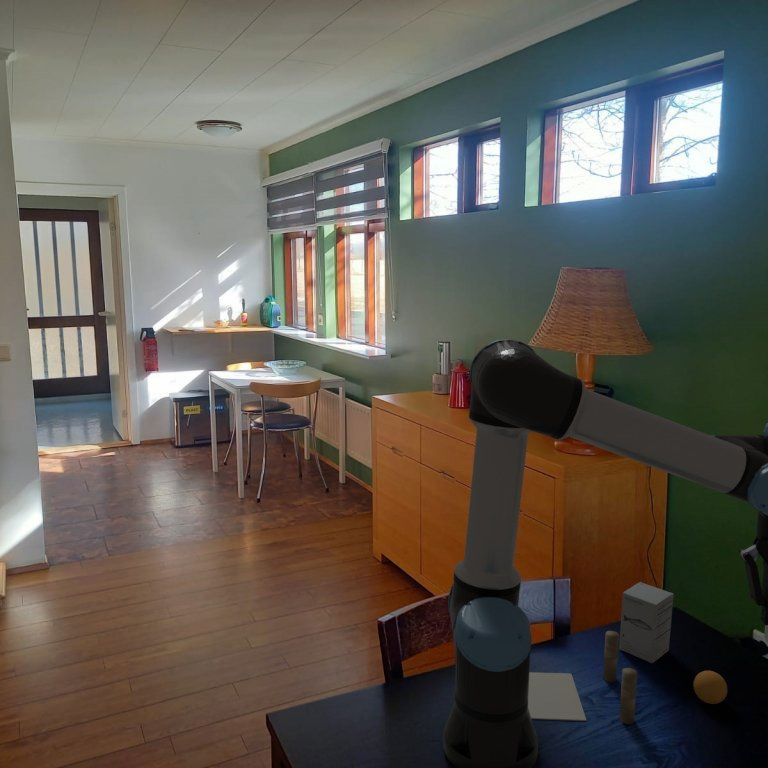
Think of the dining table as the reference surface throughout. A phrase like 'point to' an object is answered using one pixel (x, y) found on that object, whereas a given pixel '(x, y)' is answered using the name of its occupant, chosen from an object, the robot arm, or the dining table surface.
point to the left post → (611, 656)
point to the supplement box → (646, 621)
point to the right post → (628, 695)
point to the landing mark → (554, 697)
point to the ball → (710, 687)
